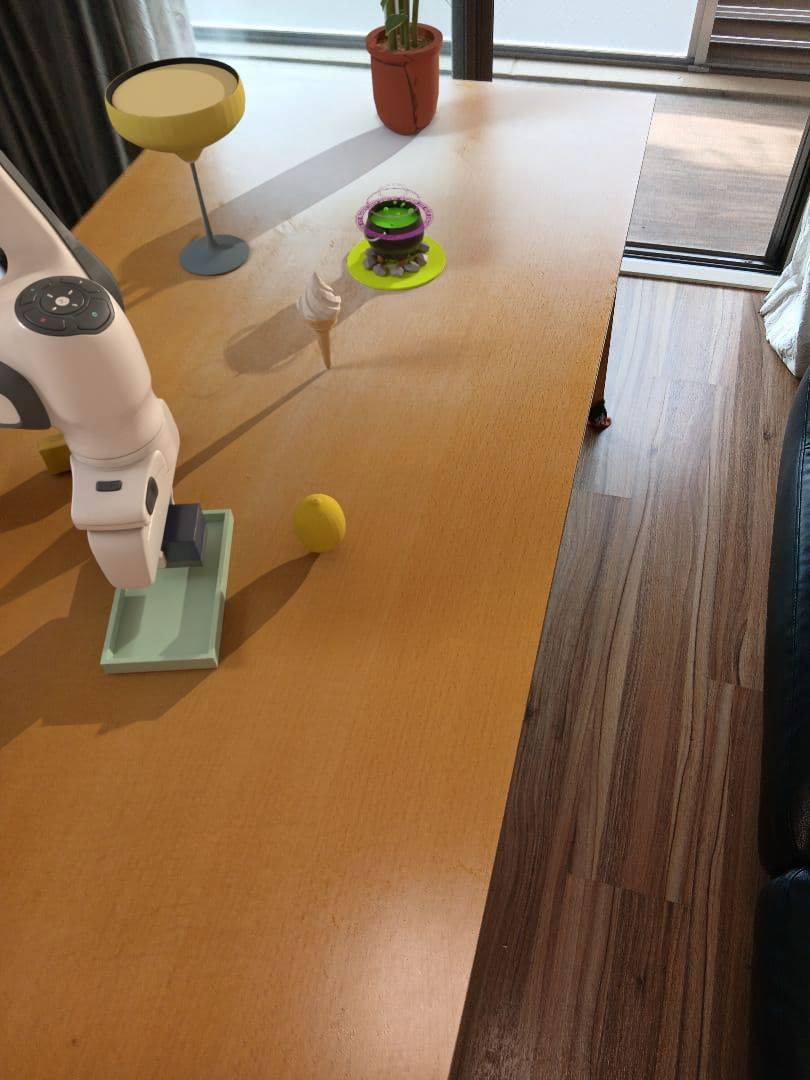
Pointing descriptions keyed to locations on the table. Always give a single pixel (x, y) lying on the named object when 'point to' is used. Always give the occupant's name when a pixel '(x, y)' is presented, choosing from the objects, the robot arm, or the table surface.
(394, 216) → the toy cauldron
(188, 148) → the cocktail glass
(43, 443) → the medication box
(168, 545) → the eraser
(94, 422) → the robot arm
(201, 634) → the tray
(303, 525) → the lemon
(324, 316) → the ice cream cone
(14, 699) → the table surface
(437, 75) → the potted plant
